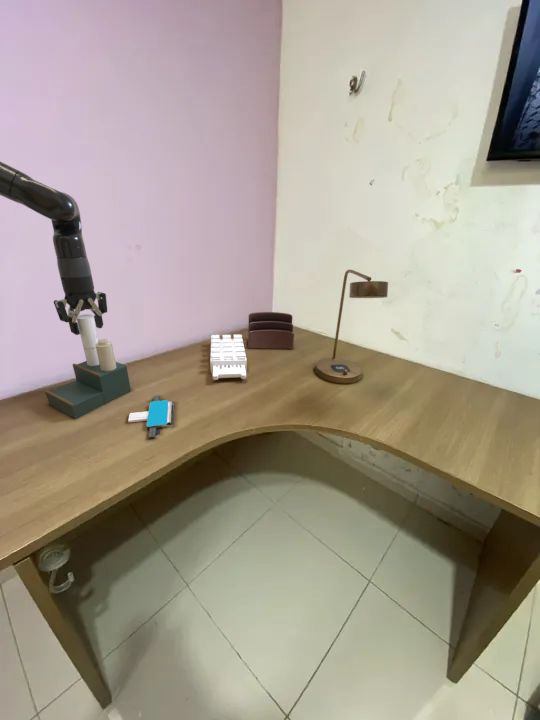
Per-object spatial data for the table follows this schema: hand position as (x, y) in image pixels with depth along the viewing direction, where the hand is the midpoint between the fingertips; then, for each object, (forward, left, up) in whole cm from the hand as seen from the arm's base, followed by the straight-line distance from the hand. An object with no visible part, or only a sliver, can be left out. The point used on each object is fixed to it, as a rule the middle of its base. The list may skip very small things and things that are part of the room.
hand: (88, 330), depth 92 cm
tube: (0, 0, -11) cm, 11 cm away
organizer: (+22, +39, -20) cm, 49 cm away
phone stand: (+26, -2, -20) cm, 33 cm away
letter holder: (+27, +64, -20) cm, 72 cm away
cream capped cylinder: (+6, 0, -11) cm, 12 cm away
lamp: (+65, +51, -20) cm, 85 cm away
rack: (+3, -5, -20) cm, 20 cm away
